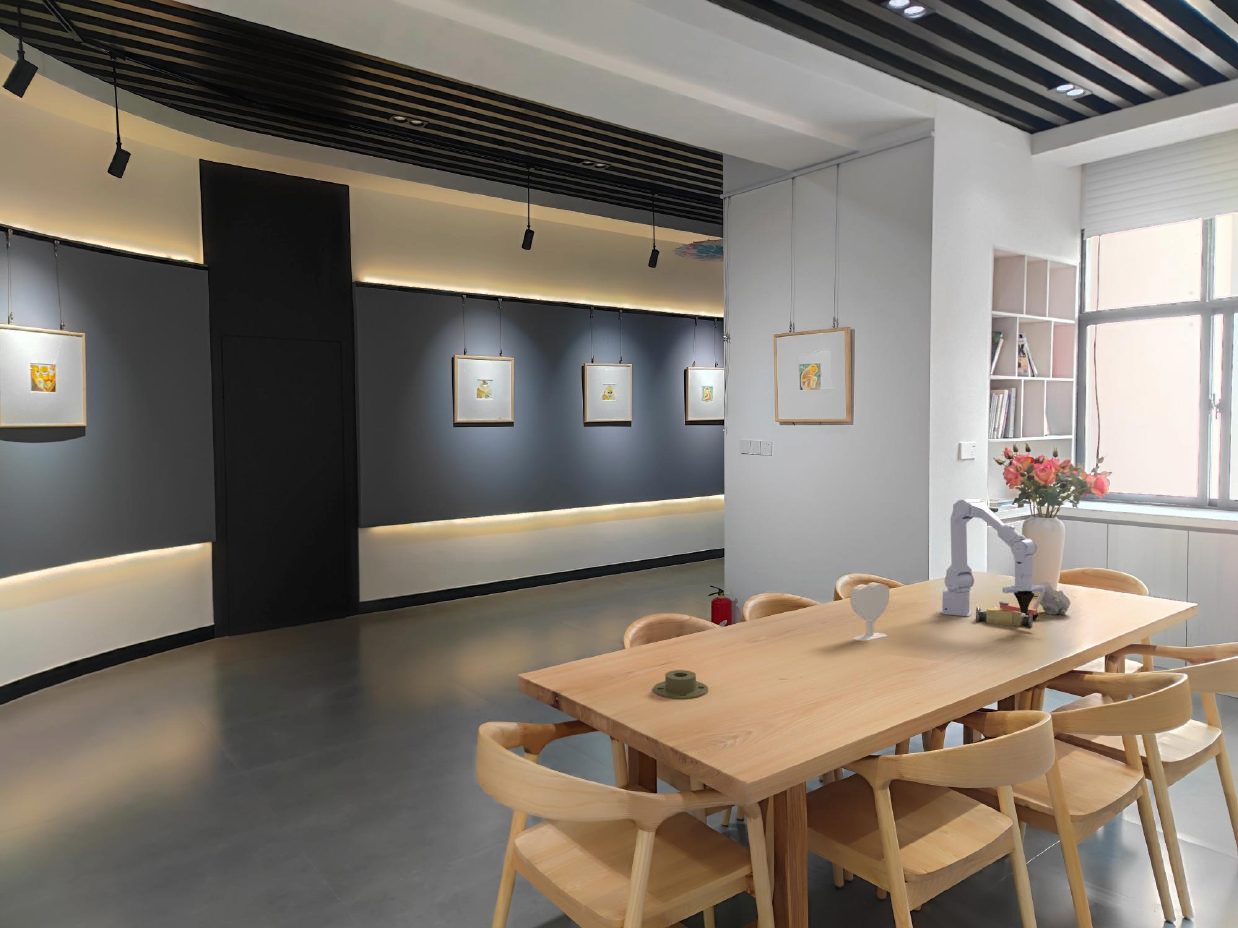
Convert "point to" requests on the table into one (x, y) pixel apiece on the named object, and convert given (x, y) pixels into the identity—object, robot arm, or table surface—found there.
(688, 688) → the flange
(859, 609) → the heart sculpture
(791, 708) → the table surface
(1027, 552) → the robot arm
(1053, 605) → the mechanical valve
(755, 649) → the table surface
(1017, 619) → the valve pipe
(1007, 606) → the lever
